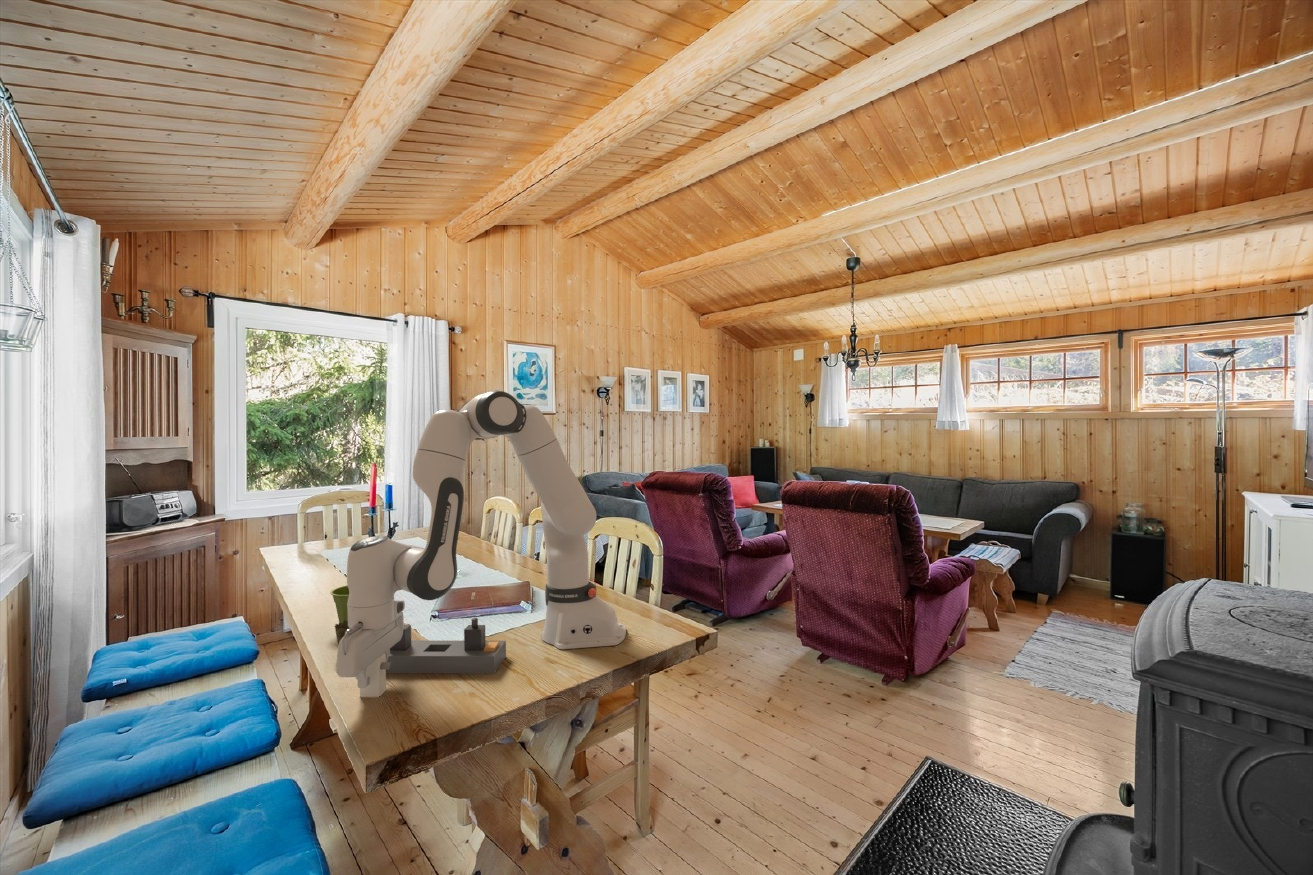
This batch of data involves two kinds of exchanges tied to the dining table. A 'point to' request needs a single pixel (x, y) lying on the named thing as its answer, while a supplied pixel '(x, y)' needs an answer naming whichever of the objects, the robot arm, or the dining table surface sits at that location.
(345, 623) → the cup
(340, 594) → the plant pot
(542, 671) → the dining table surface
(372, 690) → the plug
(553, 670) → the dining table surface
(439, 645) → the power strip
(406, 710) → the dining table surface
